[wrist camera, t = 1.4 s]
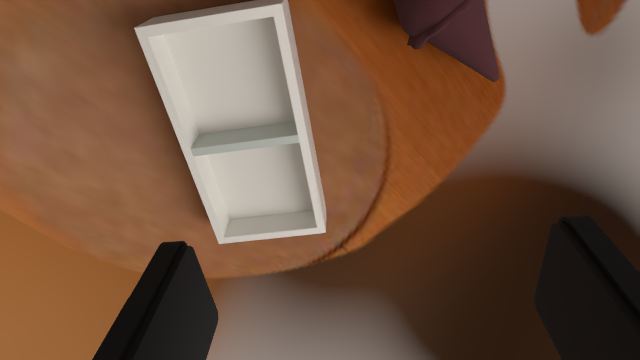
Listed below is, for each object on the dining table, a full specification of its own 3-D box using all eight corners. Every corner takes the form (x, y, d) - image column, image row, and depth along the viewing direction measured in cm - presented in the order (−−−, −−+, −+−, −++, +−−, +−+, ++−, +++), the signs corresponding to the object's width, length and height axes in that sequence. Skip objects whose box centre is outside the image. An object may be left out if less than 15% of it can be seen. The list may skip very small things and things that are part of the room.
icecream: (563, 48, 28) (442, -145, 24) (482, 119, 29) (350, -51, 25) (509, 46, 35) (406, -106, 30) (444, 105, 36) (334, -32, 31)
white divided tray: (153, 17, 34) (134, 27, 30) (286, -5, 33) (281, 3, 29) (227, 220, 46) (219, 243, 42) (326, 209, 45) (325, 232, 41)
